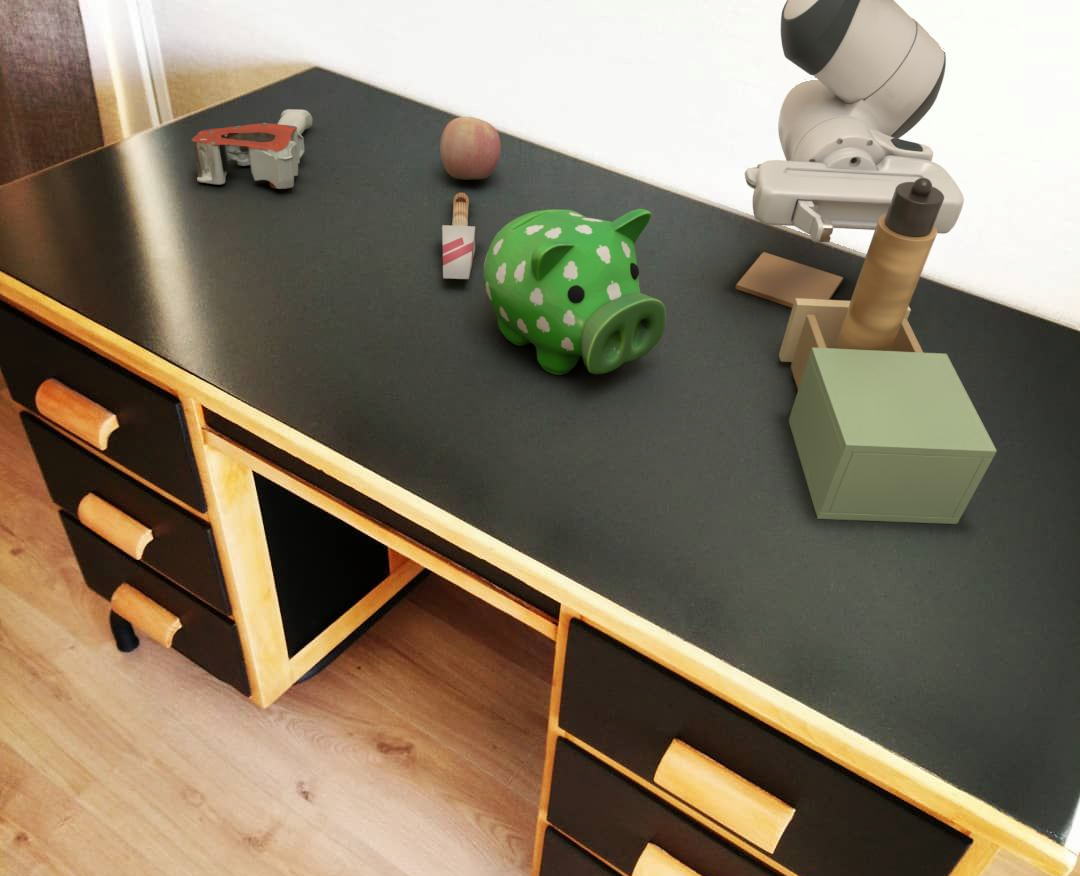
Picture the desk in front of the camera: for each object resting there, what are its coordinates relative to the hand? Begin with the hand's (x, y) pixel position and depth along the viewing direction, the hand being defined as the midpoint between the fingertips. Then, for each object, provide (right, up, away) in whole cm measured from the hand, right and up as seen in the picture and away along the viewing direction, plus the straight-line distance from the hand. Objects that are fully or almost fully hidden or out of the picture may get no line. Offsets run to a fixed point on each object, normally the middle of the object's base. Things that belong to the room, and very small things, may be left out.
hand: (873, 237), depth 88 cm
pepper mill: (-1, -13, +5) cm, 14 cm away
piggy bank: (-29, -8, +10) cm, 32 cm away
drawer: (-1, -14, +6) cm, 15 cm away
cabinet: (-1, -22, -1) cm, 22 cm away
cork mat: (-2, +1, +21) cm, 21 cm away
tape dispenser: (-66, +20, +34) cm, 77 cm away
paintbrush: (-41, +6, +23) cm, 47 cm away
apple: (-41, +18, +34) cm, 56 cm away
